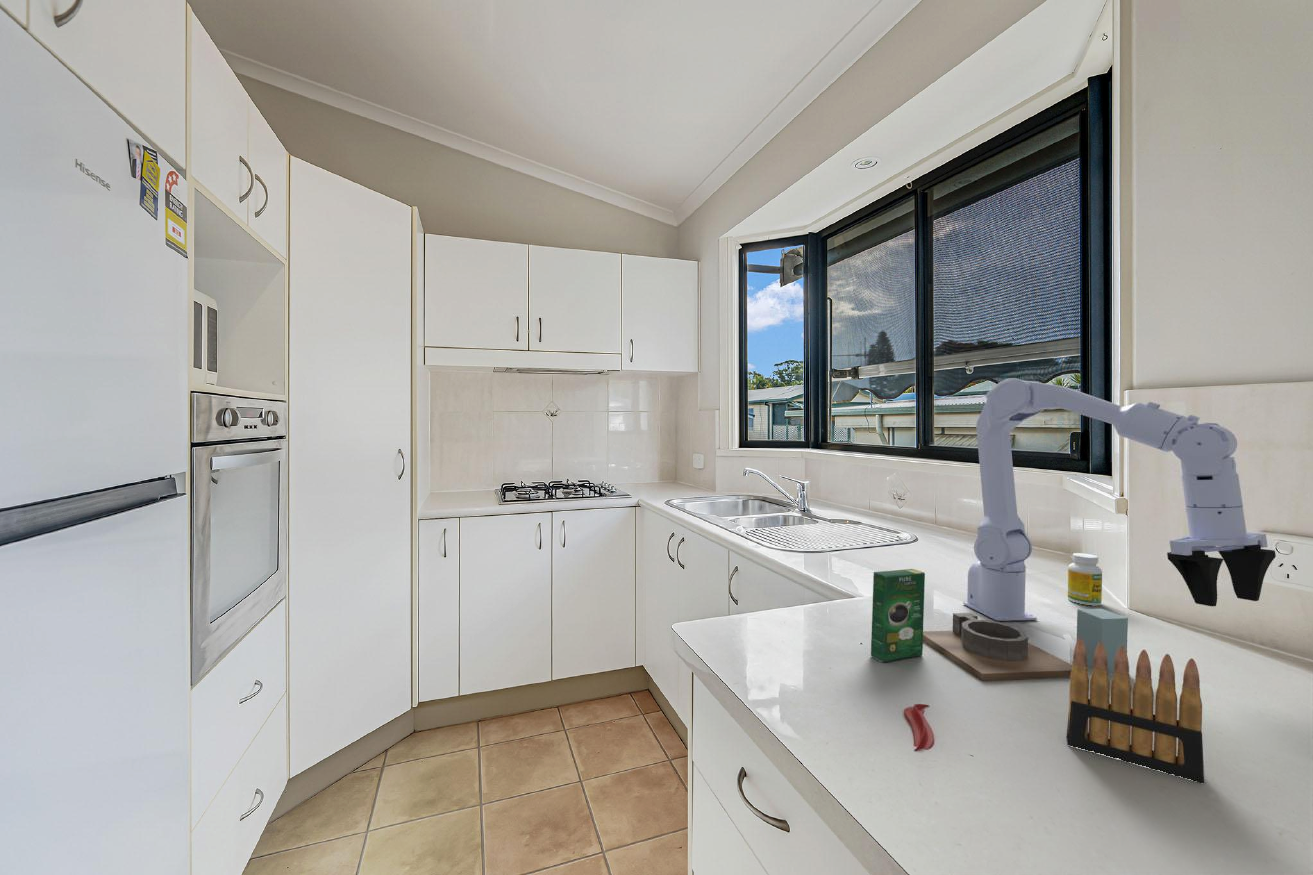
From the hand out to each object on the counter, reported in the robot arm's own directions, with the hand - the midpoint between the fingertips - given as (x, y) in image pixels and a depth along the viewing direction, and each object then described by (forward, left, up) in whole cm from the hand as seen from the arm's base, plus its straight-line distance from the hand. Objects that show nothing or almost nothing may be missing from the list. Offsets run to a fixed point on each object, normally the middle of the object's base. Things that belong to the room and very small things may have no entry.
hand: (1226, 602), depth 75 cm
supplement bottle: (-31, +8, -11) cm, 34 cm away
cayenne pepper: (+8, -51, -11) cm, 53 cm away
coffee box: (-10, -44, -11) cm, 46 cm away
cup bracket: (-9, -29, -11) cm, 32 cm away
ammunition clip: (+16, -33, -11) cm, 38 cm away
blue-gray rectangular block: (-4, -16, -11) cm, 19 cm away
